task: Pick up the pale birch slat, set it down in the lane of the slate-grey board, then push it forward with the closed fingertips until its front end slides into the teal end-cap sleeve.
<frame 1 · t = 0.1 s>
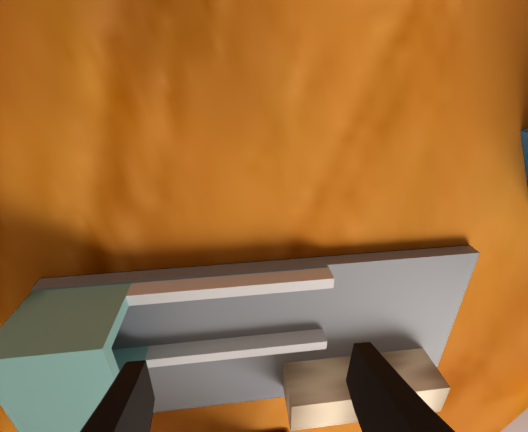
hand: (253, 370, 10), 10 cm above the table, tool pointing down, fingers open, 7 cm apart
slat: (352, 367, 25), point 1 cm above the table, touching board
board: (269, 332, 24), on the table
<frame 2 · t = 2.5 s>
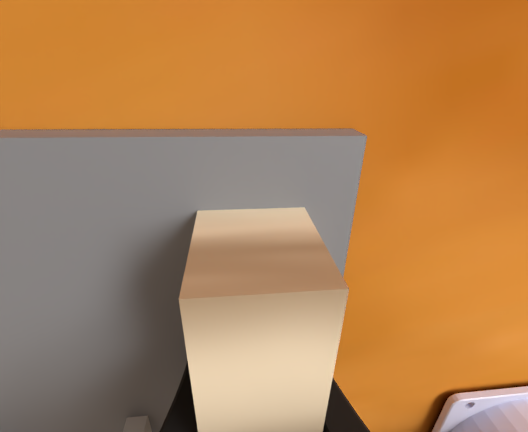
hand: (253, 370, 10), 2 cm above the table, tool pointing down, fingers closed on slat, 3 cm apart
slat: (252, 355, 11), point 1 cm above the table, touching board, gripper
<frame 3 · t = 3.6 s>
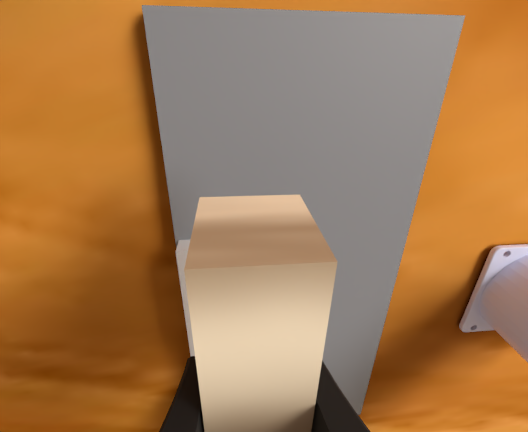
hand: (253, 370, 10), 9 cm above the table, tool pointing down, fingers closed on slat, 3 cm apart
slat: (251, 338, 12), point 8 cm above the table, touching gripper
board: (290, 278, 20), on the table
when the fingers open (3 cm above the table, at t = 5.1 s): slat stays where it is, resting on board.
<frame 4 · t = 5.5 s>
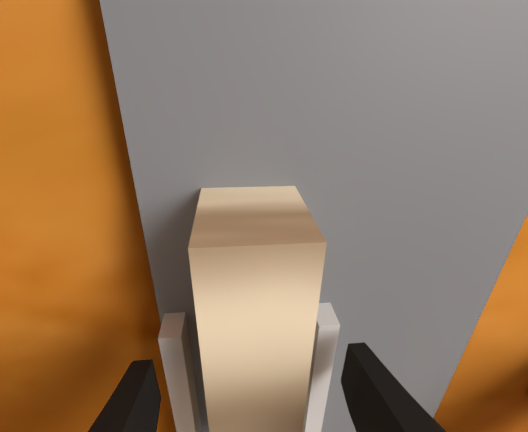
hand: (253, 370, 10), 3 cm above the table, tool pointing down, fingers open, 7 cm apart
slat: (249, 324, 12), point 1 cm above the table, touching board
board: (318, 349, 15), on the table
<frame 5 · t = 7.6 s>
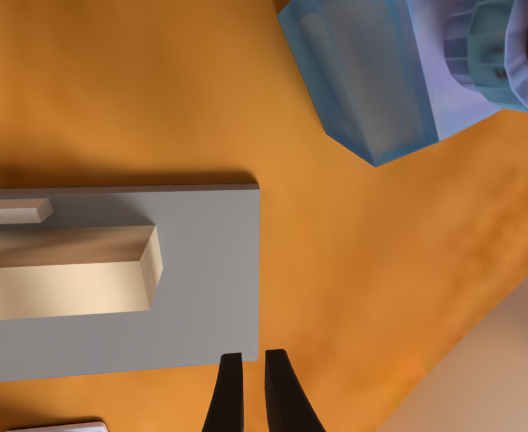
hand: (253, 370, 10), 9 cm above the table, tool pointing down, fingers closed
perfume bottle: (357, 48, 15), on the table
slat: (50, 252, 17), point 1 cm above the table, touching board
board: (23, 292, 19), on the table
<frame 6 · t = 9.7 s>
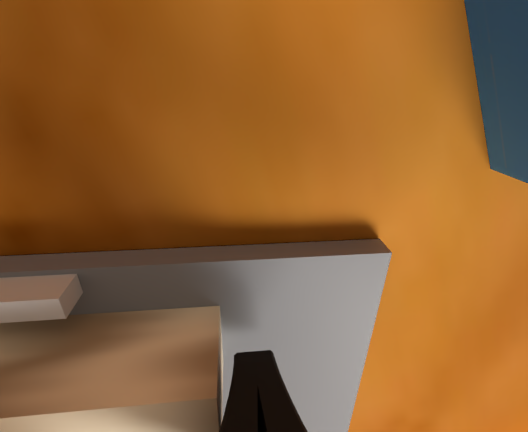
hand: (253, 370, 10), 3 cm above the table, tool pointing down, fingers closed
slat: (61, 345, 11), point 1 cm above the table, touching gripper
board: (33, 386, 13), on the table
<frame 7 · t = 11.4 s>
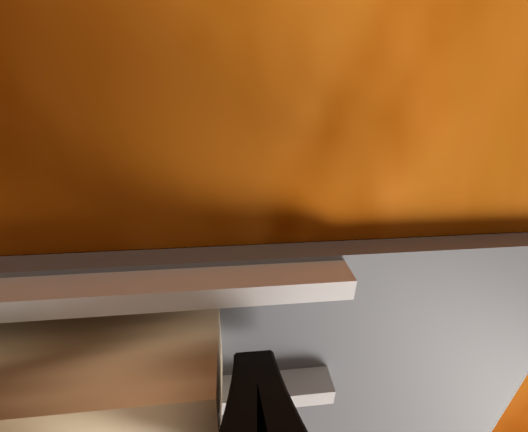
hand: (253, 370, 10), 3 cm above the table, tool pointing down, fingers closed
slat: (61, 347, 11), point 1 cm above the table, touching gripper
board: (238, 368, 14), on the table
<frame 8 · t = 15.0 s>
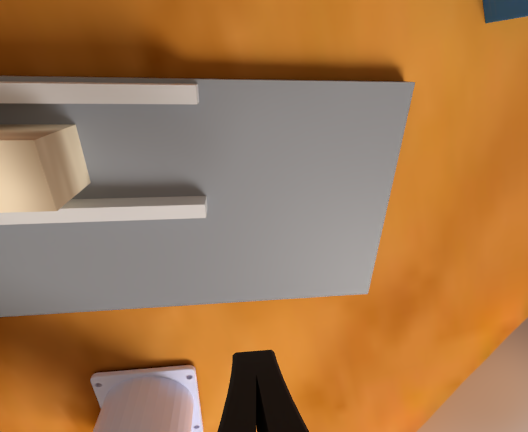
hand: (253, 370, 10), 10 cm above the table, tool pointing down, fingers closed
board: (140, 206, 18), on the table
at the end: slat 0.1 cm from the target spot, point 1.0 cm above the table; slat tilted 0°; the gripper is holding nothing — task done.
